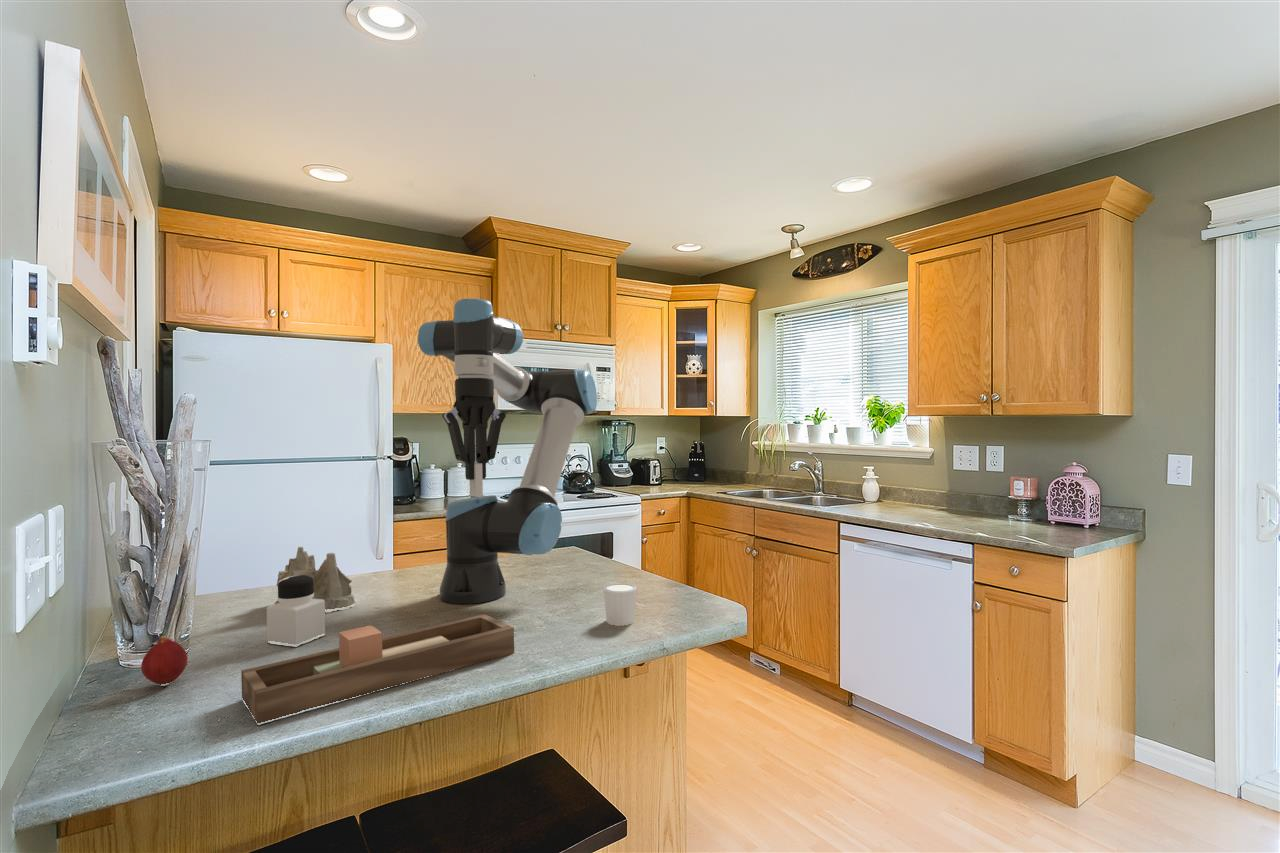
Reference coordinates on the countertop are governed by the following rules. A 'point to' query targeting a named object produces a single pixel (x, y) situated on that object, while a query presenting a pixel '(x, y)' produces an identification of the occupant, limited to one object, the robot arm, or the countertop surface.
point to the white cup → (620, 604)
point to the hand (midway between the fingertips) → (476, 495)
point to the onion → (164, 661)
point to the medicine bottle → (295, 612)
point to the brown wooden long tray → (372, 666)
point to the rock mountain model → (321, 579)
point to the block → (359, 645)
